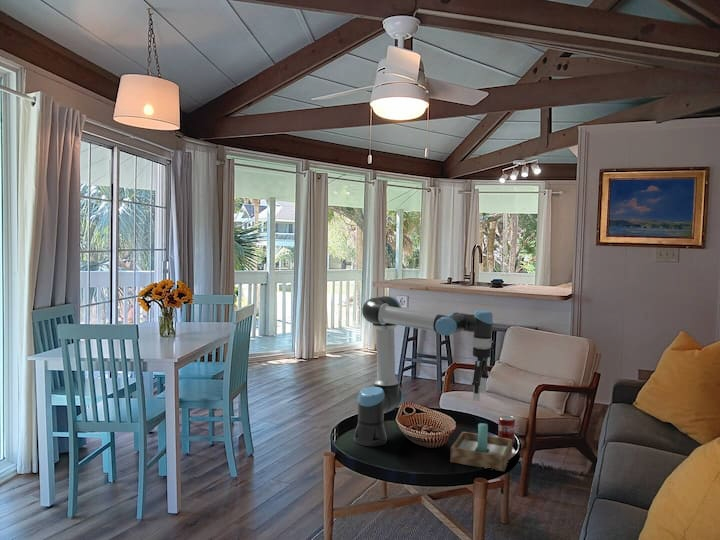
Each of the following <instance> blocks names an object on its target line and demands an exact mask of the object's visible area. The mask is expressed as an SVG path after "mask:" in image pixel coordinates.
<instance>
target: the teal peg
mask: <svg viewBox="0 0 720 540" xmlns="http://www.w3.org/2000/svg"><path fill="white" fill-rule="evenodd" d="M488 430H489V425H488V423H484V422H483V423H482V422H481V423H478V424H477V434H478V447H477V451H479V452H485V453H487V438H488V436H489V434H488V433H489V431H488Z"/></svg>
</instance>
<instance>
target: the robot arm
mask: <svg viewBox="0 0 720 540" xmlns="http://www.w3.org/2000/svg"><path fill="white" fill-rule="evenodd" d="M361 309H362V310H361V311H362V317H363V318H364V319H365V320H366V321H367V322H368V323H371V324H372V326H373V327H374V328H375V334H376V335H375V336H376V339H375V340H376V342H375V343H376V344H375V345H376V374H377V375H376V380H375V381H374V385H373V386H370V387H368V386H366V387H364V388H362V389H361V390H360V391H359V393H358V398H357V402H358V404H357V408H358V409H357V425H356V428H355V430H354V434H353V441H354V443H356V444H358V445H359V446H363V447H379V446H382V445H383V446H384V445H385V444H386V443H388V442H387V441H388V436H387V435H388V434H387V433H386V430H385V429H386V428H385V424H384V416H385V415H384V414H387V413H389V412H391V411H394V410H396V409H397V408H398V407H400V405H401V404H402V403H403V400H404V392H403V389H402V388H401V387H400V385H399V381H398V380H397V379H396V355H395V354H396V353H395V352H396V349H395V346H396V345H395V328H396V327H397V326H401V327H407V328H411V329H417V330H424V331H429V332H434V333H438V334H439V335H441V336H451V335H453V334H457V333H460V332H468V333H473V340H472V346H473V347H472V356H473V357H475V358H477V360H475V362H474V363H475V365H474V371H473V377H472V382H471V385H472V386H473V391H472V401H474V402H475V401H476V402H480V399H481V394H486V393H487V379H489V373H488V372H489V371H488V359H489V358H491V357H492V356H491V355H492V343H493V340H492V338H493V337H492V334H493V323H494V322H493V313H492V312H491V311H489V310H481V309H480V310H475V311H474V314H469V313H463V312H459V311H458V312H450V313H448V315H444V314H437V313H431V312H425V311H420V310H415V309H407V308H402V306H401V303H400V302H399V301H398V299H397V298H395V297H393V296H390V295H389V296H387V295H385V296H384V295H383V296H379V297H371V298H369V299H367V300H366V301H365V302H364V303H363V305H362V308H361Z"/></svg>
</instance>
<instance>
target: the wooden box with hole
mask: <svg viewBox="0 0 720 540" xmlns="http://www.w3.org/2000/svg"><path fill="white" fill-rule="evenodd" d="M477 447H478V433H474V432H468V431H461V433H460V434H459V435H458V437H457V438H456V440H455V441H454V443H453V444H452V445H451V446H450V459H449V462H450V463H455V464H461V465H465V466H472V467H477V468H482V467H484V468H483V469H487V468H492V469H491V470H493V469H495V470H494V471H499V472H505V471H506V469H507V467H508V464H509V461H510V459H509V458H511V456H512V454H513V446H512V439H508V438H501V437H498V436H494V435H488V438H487V453H485V452H479V451H477ZM508 460H509V461H508ZM507 463H508V464H507Z"/></svg>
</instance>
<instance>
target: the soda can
mask: <svg viewBox="0 0 720 540" xmlns="http://www.w3.org/2000/svg"><path fill="white" fill-rule="evenodd" d="M515 430H516V419H515V418H514V417H513V416H511V415H500V416H499V417H498V428H497V431H498V432H497V437H501V438H508V439H512V447H513V446H514V445H515V437H516V435H515V434H516V431H515Z"/></svg>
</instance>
